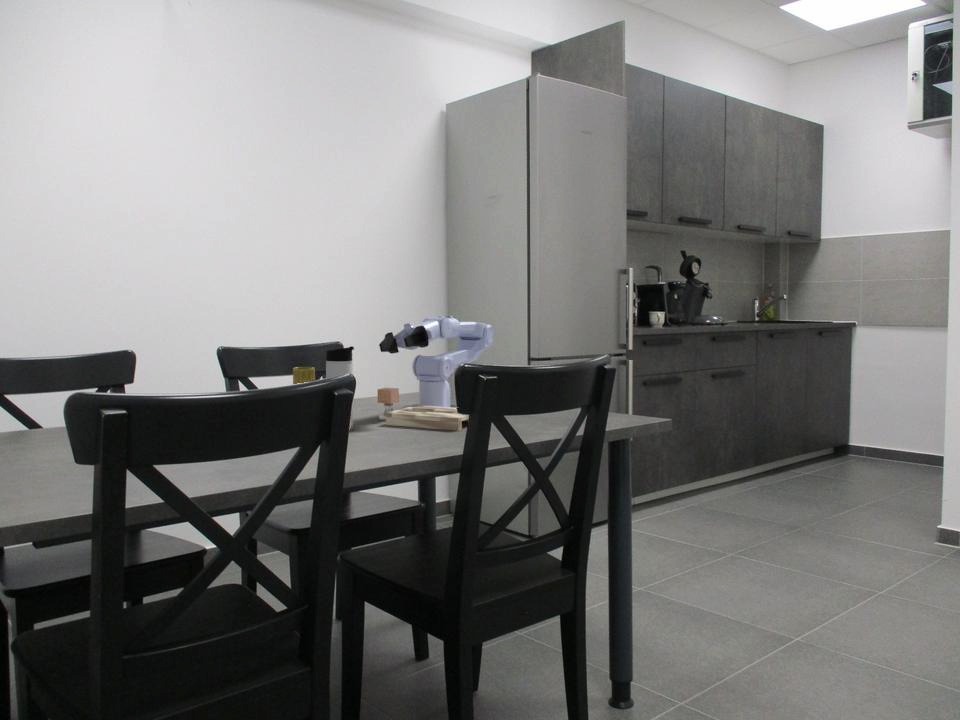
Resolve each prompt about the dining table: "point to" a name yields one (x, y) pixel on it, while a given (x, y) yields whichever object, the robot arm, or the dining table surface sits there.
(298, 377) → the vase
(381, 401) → the keyhole peg
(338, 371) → the travel mug
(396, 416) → the keyhole plate
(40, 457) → the dining table surface
